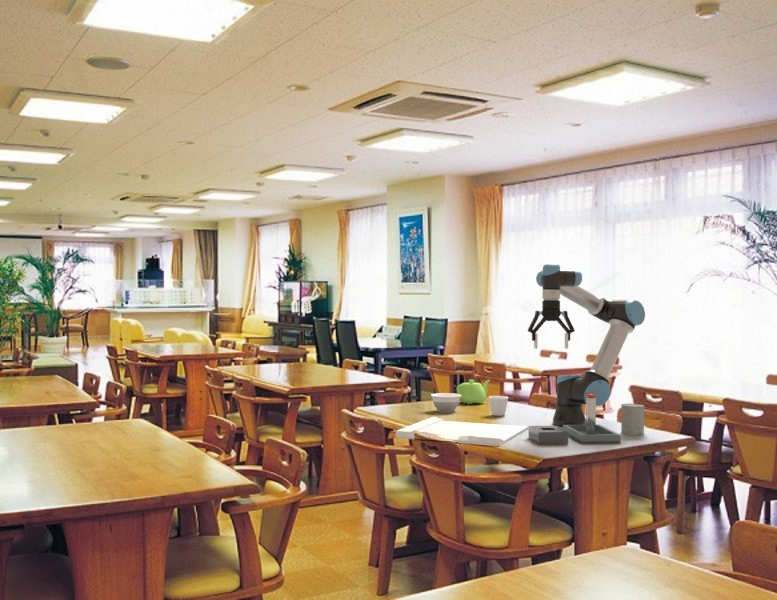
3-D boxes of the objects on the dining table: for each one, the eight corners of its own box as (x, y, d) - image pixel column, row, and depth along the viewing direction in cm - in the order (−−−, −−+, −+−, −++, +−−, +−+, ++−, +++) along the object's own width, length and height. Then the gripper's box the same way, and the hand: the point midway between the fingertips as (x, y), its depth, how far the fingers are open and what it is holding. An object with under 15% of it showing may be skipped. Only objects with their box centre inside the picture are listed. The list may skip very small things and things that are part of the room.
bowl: (467, 411, 411) (467, 395, 411) (445, 414, 401) (445, 397, 401) (446, 408, 423) (446, 392, 423) (424, 411, 413) (424, 394, 413)
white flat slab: (528, 430, 356) (528, 422, 356) (500, 447, 315) (500, 438, 315) (434, 424, 375) (434, 416, 375) (396, 439, 334) (396, 430, 334)
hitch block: (528, 437, 334) (528, 425, 334) (556, 437, 335) (556, 425, 335) (538, 444, 318) (538, 432, 318) (568, 444, 319) (568, 432, 319)
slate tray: (562, 432, 346) (562, 424, 346) (598, 432, 348) (598, 424, 347) (581, 443, 320) (581, 435, 320) (620, 443, 322) (620, 434, 322)
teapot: (483, 400, 456) (483, 377, 456) (497, 403, 442) (497, 380, 442) (449, 402, 447) (449, 379, 447) (462, 406, 433) (462, 381, 433)
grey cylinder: (645, 435, 340) (645, 406, 340) (622, 434, 342) (622, 406, 342) (642, 431, 349) (642, 403, 349) (620, 431, 351) (620, 403, 351)
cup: (506, 417, 392) (506, 398, 391) (486, 416, 395) (486, 397, 395) (510, 414, 401) (510, 396, 401) (490, 413, 404) (490, 395, 404)
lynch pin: (584, 434, 336) (584, 393, 336) (593, 434, 336) (594, 393, 336) (587, 436, 332) (587, 394, 332) (597, 436, 332) (597, 394, 332)
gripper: (525, 299, 342) (525, 349, 342) (581, 299, 344) (581, 348, 344) (520, 299, 350) (520, 348, 350) (576, 299, 351) (576, 347, 352)
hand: (551, 348), depth 347 cm, fingers open, 13 cm apart
